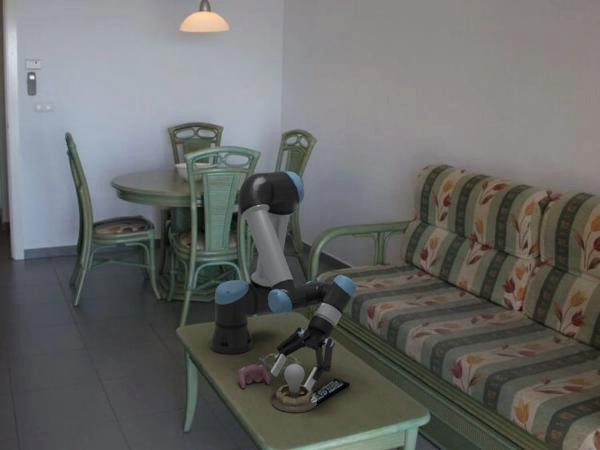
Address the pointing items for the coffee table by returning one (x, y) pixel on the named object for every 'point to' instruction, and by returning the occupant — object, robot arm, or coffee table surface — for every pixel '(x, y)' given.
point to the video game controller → (253, 369)
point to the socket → (293, 400)
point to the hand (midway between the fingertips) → (289, 381)
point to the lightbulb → (294, 378)
